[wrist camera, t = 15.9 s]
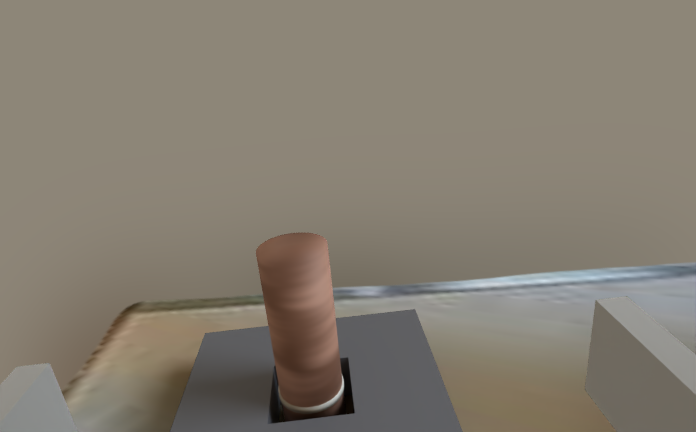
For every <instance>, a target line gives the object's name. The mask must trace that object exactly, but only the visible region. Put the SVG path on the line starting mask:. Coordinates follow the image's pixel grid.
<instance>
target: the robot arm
mask: <svg viewBox="0 0 696 432" xmlns="http://www.w3.org/2000/svg"><path fill="white" fill-rule="evenodd" d="M585 390H586V392H587V393H588V394H589V396H590V397H591V398H592V400H593V401H594V402H595V404H596V405H597V406H598V408H599V409H600V410H601V411H602V413H603V414H604V415H605V417H606V418H607V419H608V421H609V422H610V423H611V425H612V426H613V427H614V429H615V430H616V431H617V432H696V354H695V353H693V352H692V351H691V350H690V349H689V348H688V347H686V346H685V345H684V344H683V343H682V342H680V341H679V340H678V339H677V338H676V337H674V336H673V335H672V334H671V333H670V332H669V331H667V330H666V329H665V328H664V327H663V326H661V325H660V324H659V323H658V322H657V321H655V320H654V319H653V318H652V317H651V316H649V315H648V314H647V313H646V312H645V311H644V310H642V309H641V308H640V307H639V306H638V305H636V304H635V303H634V302H633V301H632V300H630V299H629V298H628V297H627V296H625V297H617V298H608V299H599V300H596V302H595V310H594V318H593V327H592V335H591V343H590V351H589V359H588V367H587V376H586V384H585ZM0 432H78V431H77V429H76V426H75V424H74V421H73V419H72V416H71V414H70V412H69V409H68V407H67V404H66V402H65V399H64V397H63V395H62V392H61V390H60V387H59V385H58V382H57V380H56V378H55V375H54V373H53V370H52V368H51V365H50V363H45V364H36V365H28V366H19V367H16V368H15V369H14V370H13V371H12V373H11V374H10V375H9V376H8V377H7V378H6V379H5V380H4V381H3V382H2V384H1V385H0Z"/></svg>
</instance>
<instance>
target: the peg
mask: <svg viewBox="0 0 696 432" xmlns="http://www.w3.org/2000/svg"><path fill="white" fill-rule="evenodd" d="M256 256H257V261H258V267H259V273H260V279H261V285H262V291H263V296H264V302H265V308H266V314H267V320H268V325H269V331H270V337H271V343H272V349H273V354H274V360H275V366H276V372H277V378H278V384H279V387H278V391H279V397H280V400H281V402H282V407H283V413H284V418H285V422H289V421H297V420H305V419H313V418H321V417H329V416H338V415H346V409H345V400H344V379H343V376H342V373H341V364H340V354H339V345H338V336H337V327H336V318H335V308H334V299H333V290H332V281H331V273H330V263H329V254H328V245H327V241H326V239H325V238H324V237H322V236H320V235H317V234H313V233H290V234H284V235H280V236H277V237H274V238H271V239H269V240H267V241H265V242H264V243H262V244H261V245H260V246H259V247H258V248H257V250H256Z"/></svg>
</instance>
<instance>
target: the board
mask: <svg viewBox="0 0 696 432" xmlns="http://www.w3.org/2000/svg"><path fill="white" fill-rule="evenodd" d="M336 327H337V336H338V345H339V354H340V364H341V373H342V376H343V379H344V396H348V395H352V399H353V408H354V414H346V415H338V416H329V417H321V418H313V419H305V420H297V421H289V422H281V423H279V414H280V404H282V402H281V400H280V397H279V391H278V387H279V384H278V378H277V372H276V366H275V360H274V354H273V349H272V343H271V337H270V331H269V326H264V327H256V328H247V329H238V330H229V331H221V332H212V333H205V335H204V338H203V341H202V344H201V346H200V349H199V352H198V355H197V357H196V360H195V363H194V366H193V369H192V371H191V374H190V377H189V380H188V383H187V385H186V388H185V391H184V394H183V396H182V399H181V402H180V405H179V408H178V410H177V413H176V416H175V419H174V421H173V424H172V427H171V430H170V432H462V429H461V427H460V424H459V421H458V419H457V416H456V414H455V411H454V409H453V406H452V403H451V401H450V398H449V396H448V393H447V391H446V388H445V385H444V383H443V380H442V378H441V375H440V373H439V370H438V367H437V365H436V362H435V360H434V357H433V355H432V352H431V349H430V347H429V344H428V342H427V339H426V337H425V334H424V331H423V329H422V326H421V324H420V321H419V319H418V316H417V313H416V311H415V309H413V310H405V311H396V312H387V313H378V314H370V315H361V316H352V317H343V318H336Z"/></svg>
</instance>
